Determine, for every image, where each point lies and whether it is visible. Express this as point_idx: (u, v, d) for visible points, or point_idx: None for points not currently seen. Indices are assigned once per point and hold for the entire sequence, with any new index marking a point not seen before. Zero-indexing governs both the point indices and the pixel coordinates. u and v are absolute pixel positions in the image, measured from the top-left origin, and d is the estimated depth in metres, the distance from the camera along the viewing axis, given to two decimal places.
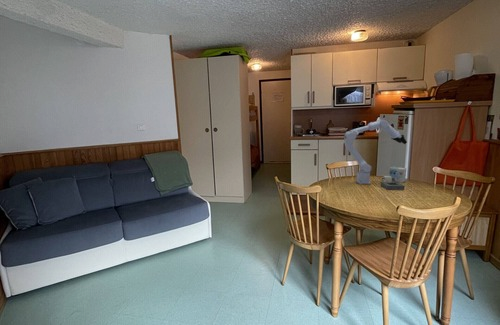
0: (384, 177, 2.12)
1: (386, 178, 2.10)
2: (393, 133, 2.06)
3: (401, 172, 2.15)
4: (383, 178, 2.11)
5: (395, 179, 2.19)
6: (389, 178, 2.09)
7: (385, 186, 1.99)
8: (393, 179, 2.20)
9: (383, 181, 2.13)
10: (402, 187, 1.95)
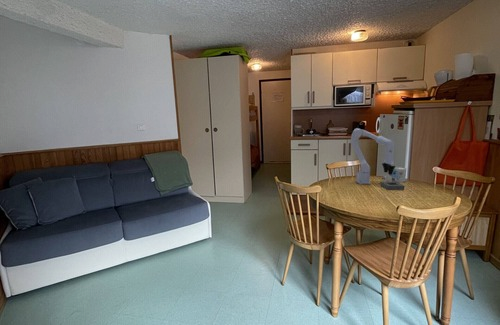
0: (384, 177, 2.12)
1: (386, 178, 2.10)
2: (389, 159, 2.06)
3: (401, 172, 2.15)
4: (383, 178, 2.11)
5: (395, 179, 2.19)
6: (389, 178, 2.09)
7: (385, 186, 1.99)
8: (393, 179, 2.20)
9: (383, 181, 2.13)
10: (402, 187, 1.95)
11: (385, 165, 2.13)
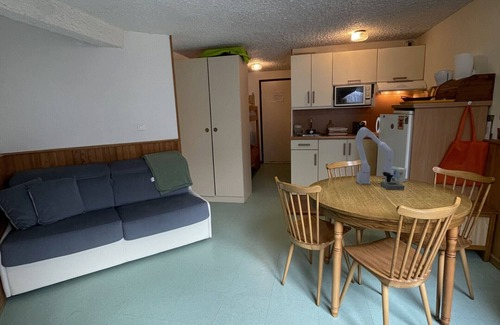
0: (384, 177, 2.11)
1: (386, 178, 2.10)
2: (389, 167, 2.07)
3: (401, 172, 2.15)
4: (383, 178, 2.11)
5: (395, 179, 2.19)
6: None
7: (385, 186, 1.99)
8: (393, 179, 2.20)
9: (383, 181, 2.13)
10: (402, 187, 1.95)
11: (385, 174, 2.13)
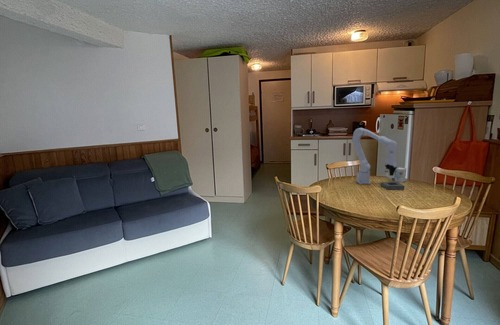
0: (387, 170, 2.06)
1: (389, 171, 2.04)
2: (392, 160, 2.01)
3: (401, 172, 2.15)
4: (386, 171, 2.05)
5: (395, 179, 2.19)
6: None
7: (385, 186, 1.99)
8: (393, 179, 2.20)
9: (386, 174, 2.07)
10: (402, 187, 1.95)
11: (388, 167, 2.07)
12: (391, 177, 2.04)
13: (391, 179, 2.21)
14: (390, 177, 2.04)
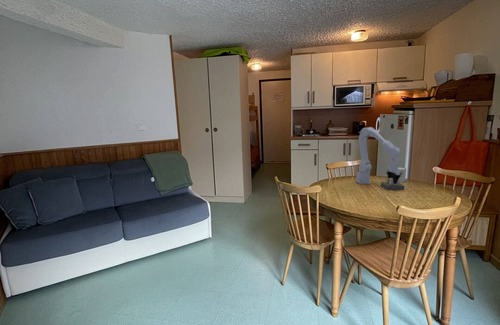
0: (389, 179, 2.01)
1: (391, 180, 1.99)
2: (394, 167, 1.96)
3: (401, 172, 2.15)
4: (388, 180, 2.00)
5: None
6: None
7: (385, 186, 1.99)
8: None
9: None
10: (402, 187, 1.95)
11: (389, 173, 2.03)
12: None
13: None
14: None
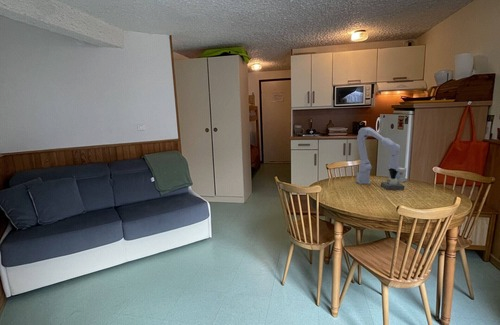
0: (389, 179, 2.01)
1: (391, 180, 1.99)
2: (395, 163, 1.95)
3: (401, 172, 2.15)
4: (388, 180, 2.00)
5: None
6: (395, 180, 1.98)
7: (385, 186, 1.99)
8: None
9: None
10: (402, 187, 1.95)
11: None
12: None
13: None
14: None
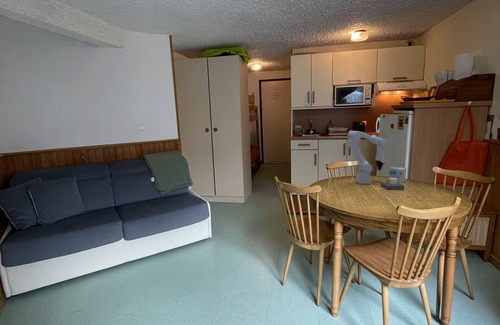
0: (389, 179, 2.01)
1: (391, 180, 1.99)
2: (380, 156, 2.14)
3: (401, 172, 2.15)
4: (388, 180, 2.00)
5: None
6: (395, 180, 1.98)
7: (385, 186, 1.99)
8: None
9: None
10: (402, 187, 1.95)
11: None
12: None
13: None
14: None
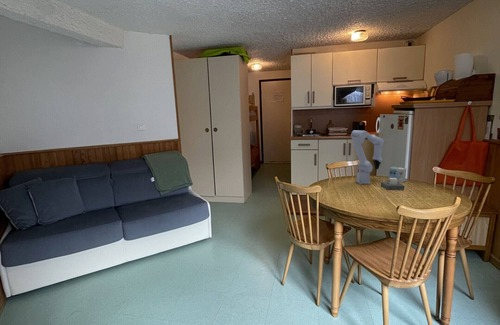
0: (389, 179, 2.01)
1: (391, 180, 1.99)
2: (378, 155, 2.17)
3: (401, 172, 2.15)
4: (388, 180, 2.00)
5: None
6: (395, 180, 1.98)
7: (385, 186, 1.99)
8: None
9: None
10: (402, 187, 1.95)
11: None
12: None
13: None
14: None
